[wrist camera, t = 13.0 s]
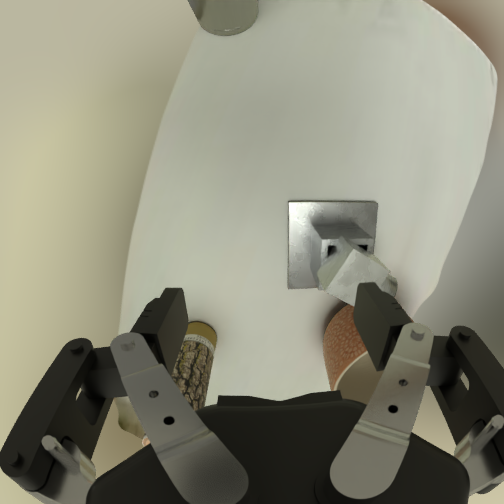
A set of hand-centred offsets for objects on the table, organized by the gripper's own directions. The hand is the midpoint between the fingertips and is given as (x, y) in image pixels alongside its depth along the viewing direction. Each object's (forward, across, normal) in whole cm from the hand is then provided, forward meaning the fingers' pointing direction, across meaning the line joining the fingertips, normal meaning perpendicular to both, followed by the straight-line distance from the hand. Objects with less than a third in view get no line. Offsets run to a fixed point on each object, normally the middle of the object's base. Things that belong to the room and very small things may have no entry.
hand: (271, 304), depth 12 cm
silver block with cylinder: (+28, -12, +9) cm, 32 cm away
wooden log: (+30, +12, +25) cm, 41 cm away
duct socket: (+30, -11, +8) cm, 33 cm away
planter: (+30, -18, +24) cm, 43 cm away
